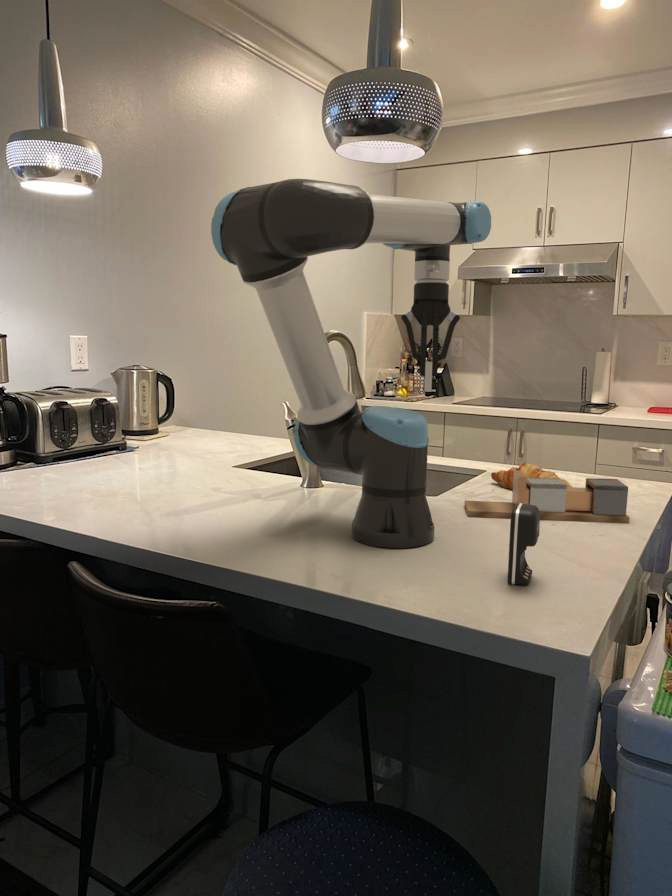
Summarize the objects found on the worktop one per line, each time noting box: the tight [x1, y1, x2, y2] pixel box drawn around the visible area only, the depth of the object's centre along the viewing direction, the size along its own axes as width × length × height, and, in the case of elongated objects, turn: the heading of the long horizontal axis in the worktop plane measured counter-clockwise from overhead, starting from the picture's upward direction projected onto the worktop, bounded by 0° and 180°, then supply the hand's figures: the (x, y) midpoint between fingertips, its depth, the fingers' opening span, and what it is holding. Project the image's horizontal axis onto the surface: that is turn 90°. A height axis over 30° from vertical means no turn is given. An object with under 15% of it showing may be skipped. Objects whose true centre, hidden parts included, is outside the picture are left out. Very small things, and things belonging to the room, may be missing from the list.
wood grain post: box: [511, 470, 594, 511], centre depth 140 cm, size 20×7×7 cm, turn 84°
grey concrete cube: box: [526, 478, 567, 513], centre depth 140 cm, size 7×7×6 cm
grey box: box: [584, 477, 629, 516], centre depth 139 cm, size 6×8×6 cm
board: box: [464, 500, 630, 524], centre depth 141 cm, size 32×9×1 cm, turn 84°
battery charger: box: [506, 503, 541, 586], centre depth 102 cm, size 7×4×11 cm, turn 159°
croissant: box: [490, 462, 573, 491], centre depth 163 cm, size 21×10×8 cm, turn 51°
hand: (427, 391), depth 150 cm, fingers closed
